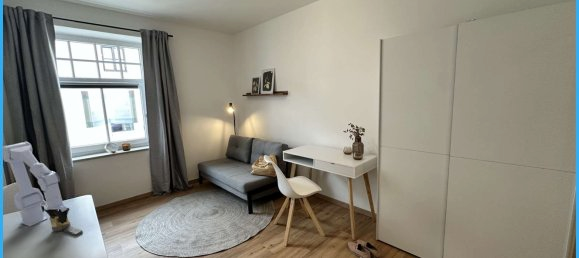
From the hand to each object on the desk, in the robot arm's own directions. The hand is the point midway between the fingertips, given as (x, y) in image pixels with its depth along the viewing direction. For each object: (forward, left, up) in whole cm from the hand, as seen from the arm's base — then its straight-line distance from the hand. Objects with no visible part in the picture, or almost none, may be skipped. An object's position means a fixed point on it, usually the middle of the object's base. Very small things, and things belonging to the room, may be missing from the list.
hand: (59, 221), depth 132 cm
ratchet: (+6, 0, -4) cm, 7 cm away
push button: (-35, +5, -4) cm, 36 cm away
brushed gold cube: (0, 0, -2) cm, 2 cm away
